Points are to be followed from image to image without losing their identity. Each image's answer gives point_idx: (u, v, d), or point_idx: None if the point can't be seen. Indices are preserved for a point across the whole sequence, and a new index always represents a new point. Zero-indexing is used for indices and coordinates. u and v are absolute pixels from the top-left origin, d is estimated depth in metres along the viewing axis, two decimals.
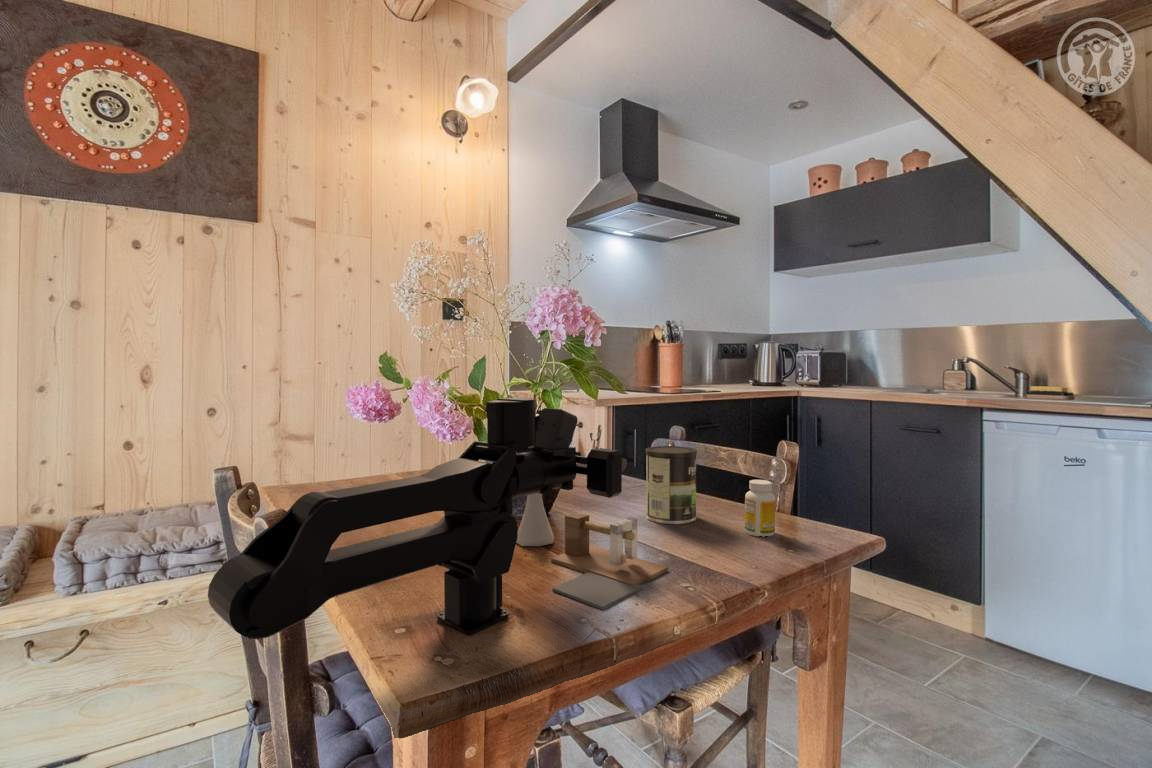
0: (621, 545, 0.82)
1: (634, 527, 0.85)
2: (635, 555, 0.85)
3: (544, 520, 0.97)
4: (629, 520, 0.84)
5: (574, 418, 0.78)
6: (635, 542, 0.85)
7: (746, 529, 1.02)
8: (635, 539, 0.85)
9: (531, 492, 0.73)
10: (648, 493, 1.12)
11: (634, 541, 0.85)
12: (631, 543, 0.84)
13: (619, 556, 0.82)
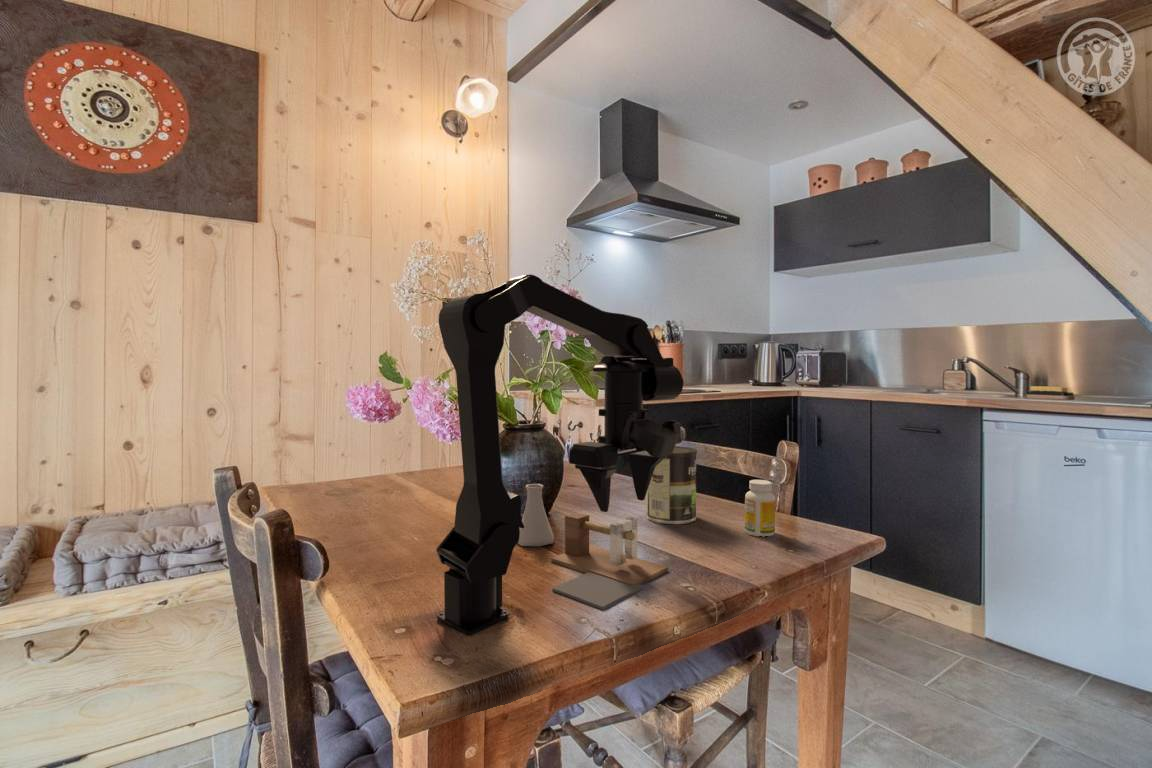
0: (621, 545, 0.82)
1: (634, 527, 0.85)
2: (635, 555, 0.85)
3: (544, 520, 0.97)
4: (629, 520, 0.84)
5: (654, 450, 0.77)
6: (635, 542, 0.85)
7: (746, 529, 1.02)
8: (635, 539, 0.85)
9: (621, 393, 0.80)
10: (648, 493, 1.12)
11: (634, 541, 0.85)
12: (631, 543, 0.84)
13: (619, 556, 0.82)
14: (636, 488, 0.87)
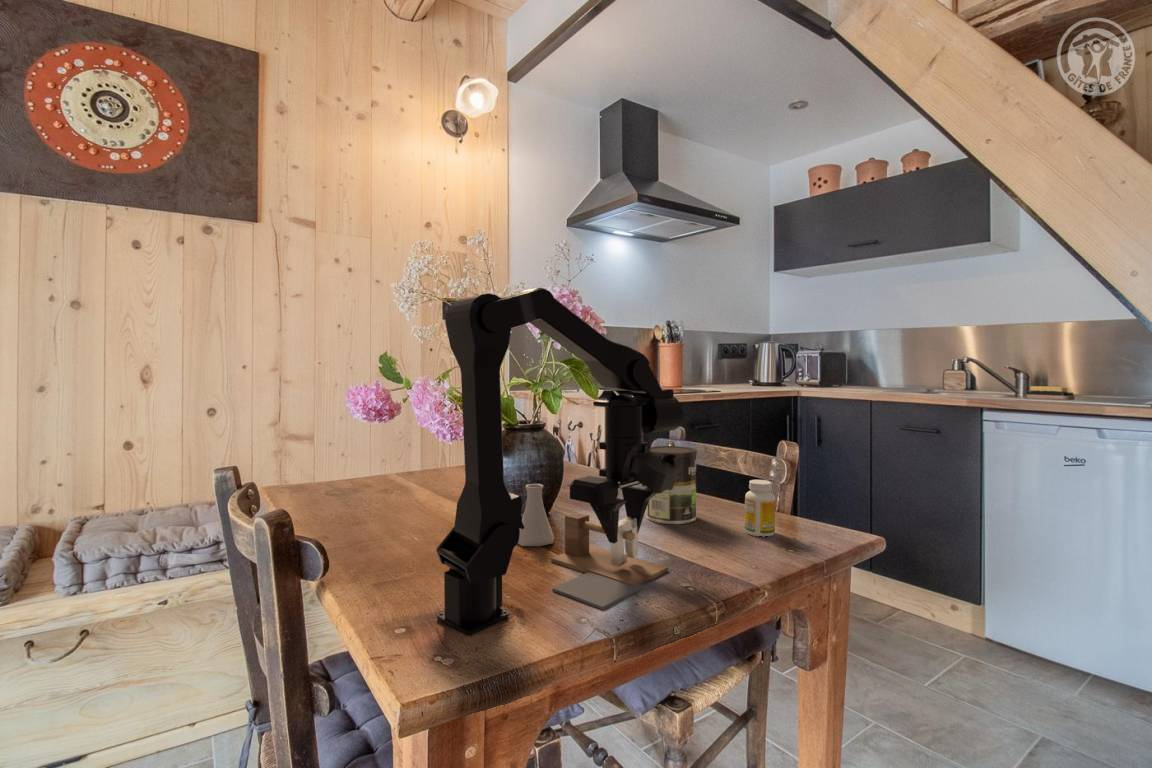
0: (621, 546, 0.82)
1: (634, 527, 0.85)
2: (636, 554, 0.85)
3: (544, 520, 0.97)
4: (628, 520, 0.84)
5: (654, 486, 0.77)
6: (635, 541, 0.85)
7: (746, 529, 1.02)
8: (635, 538, 0.85)
9: (621, 428, 0.81)
10: None
11: (634, 540, 0.85)
12: (632, 542, 0.85)
13: (620, 557, 0.82)
14: None
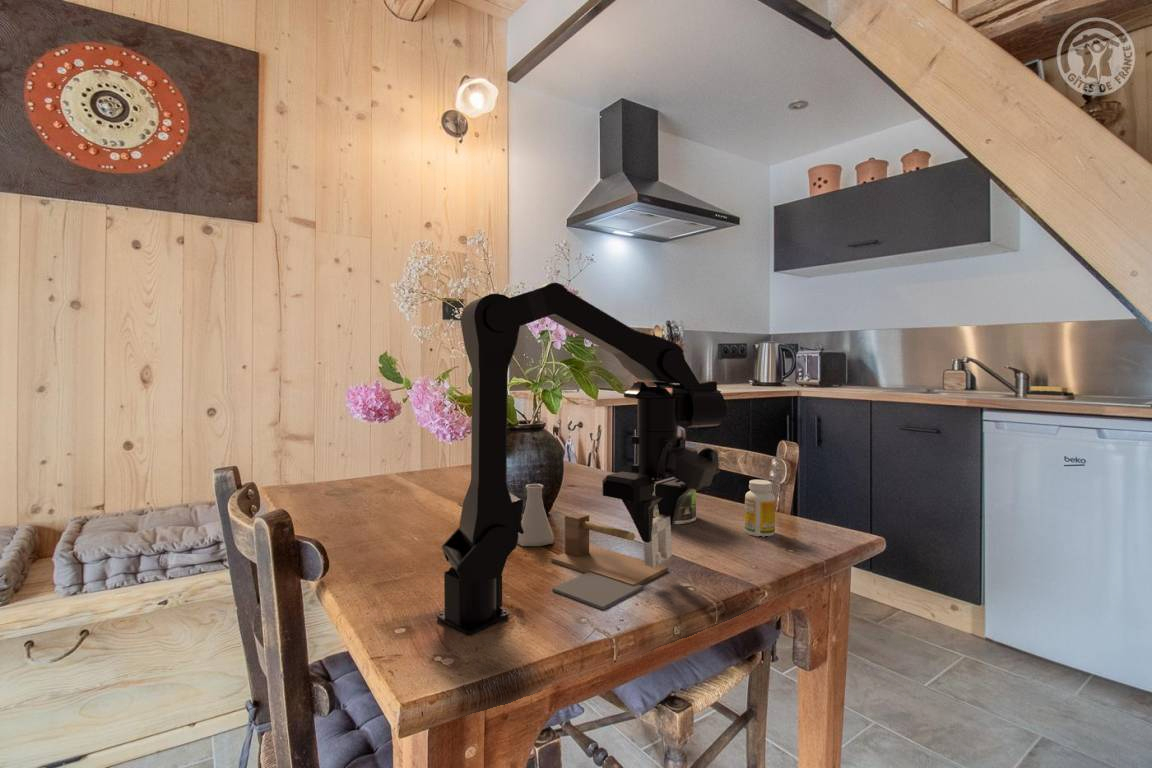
0: (655, 545, 0.78)
1: (668, 525, 0.81)
2: (670, 553, 0.81)
3: (544, 520, 0.97)
4: (662, 518, 0.80)
5: (692, 482, 0.73)
6: (669, 540, 0.81)
7: (746, 529, 1.02)
8: (669, 537, 0.81)
9: (652, 421, 0.77)
10: None
11: (668, 539, 0.81)
12: (665, 541, 0.81)
13: (654, 557, 0.78)
14: None
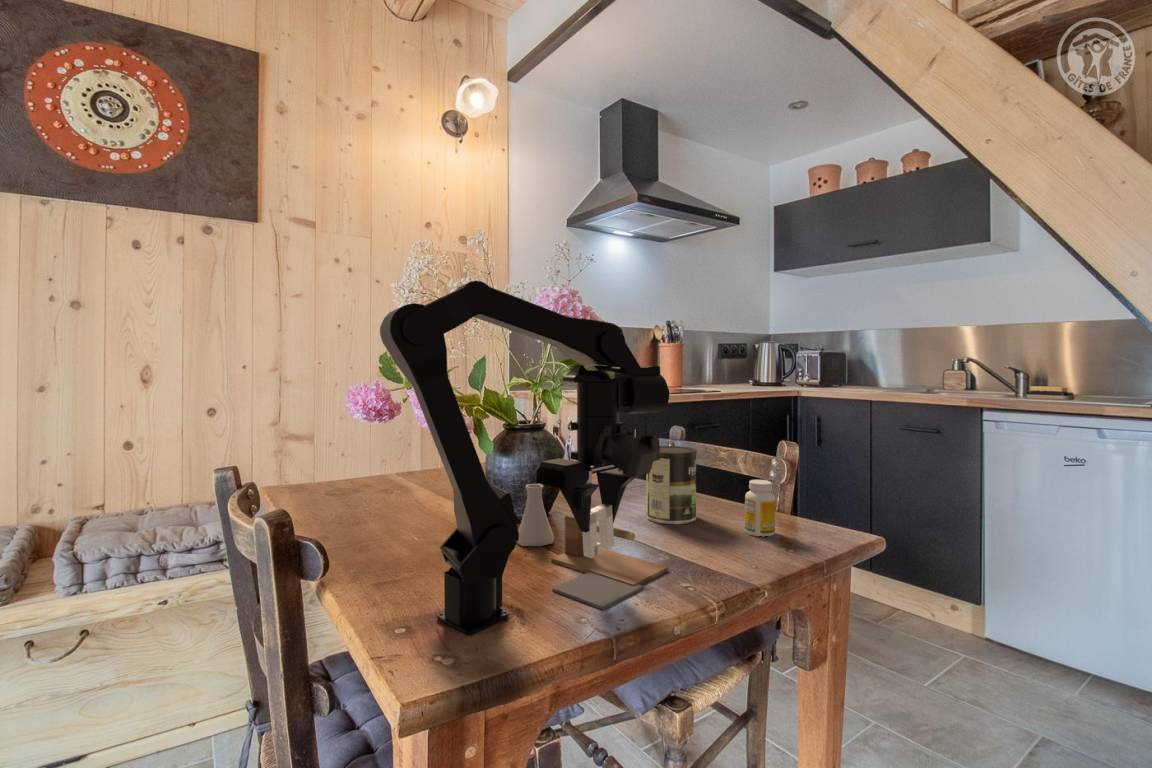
0: (594, 535, 0.75)
1: (609, 515, 0.78)
2: (611, 544, 0.78)
3: (544, 520, 0.97)
4: (603, 507, 0.77)
5: (629, 469, 0.70)
6: (611, 530, 0.78)
7: (746, 529, 1.02)
8: (610, 527, 0.78)
9: (591, 406, 0.74)
10: (648, 493, 1.12)
11: (609, 529, 0.78)
12: (606, 532, 0.77)
13: (593, 547, 0.75)
14: None
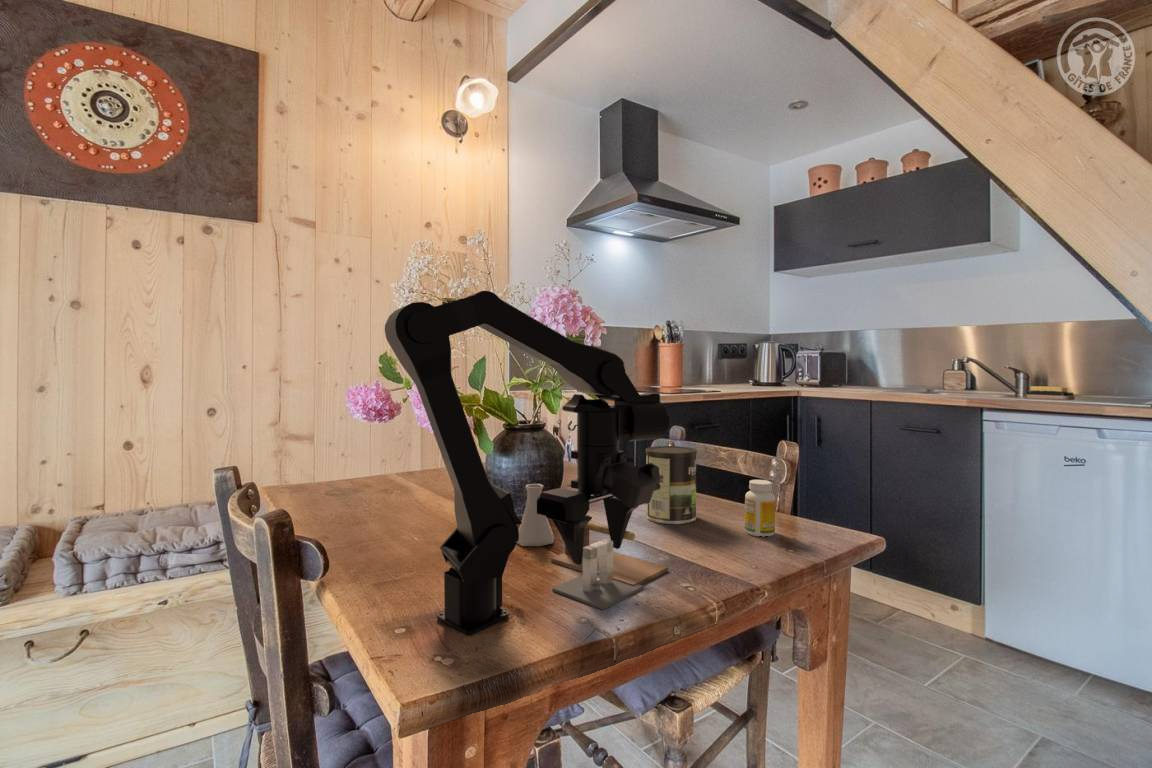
0: (595, 571, 0.75)
1: (610, 551, 0.78)
2: (611, 581, 0.78)
3: (544, 520, 0.97)
4: (604, 543, 0.77)
5: (629, 500, 0.70)
6: (611, 566, 0.78)
7: (746, 529, 1.02)
8: (611, 563, 0.78)
9: (591, 435, 0.74)
10: None
11: (609, 565, 0.78)
12: (606, 568, 0.77)
13: (592, 583, 0.75)
14: (611, 535, 0.80)
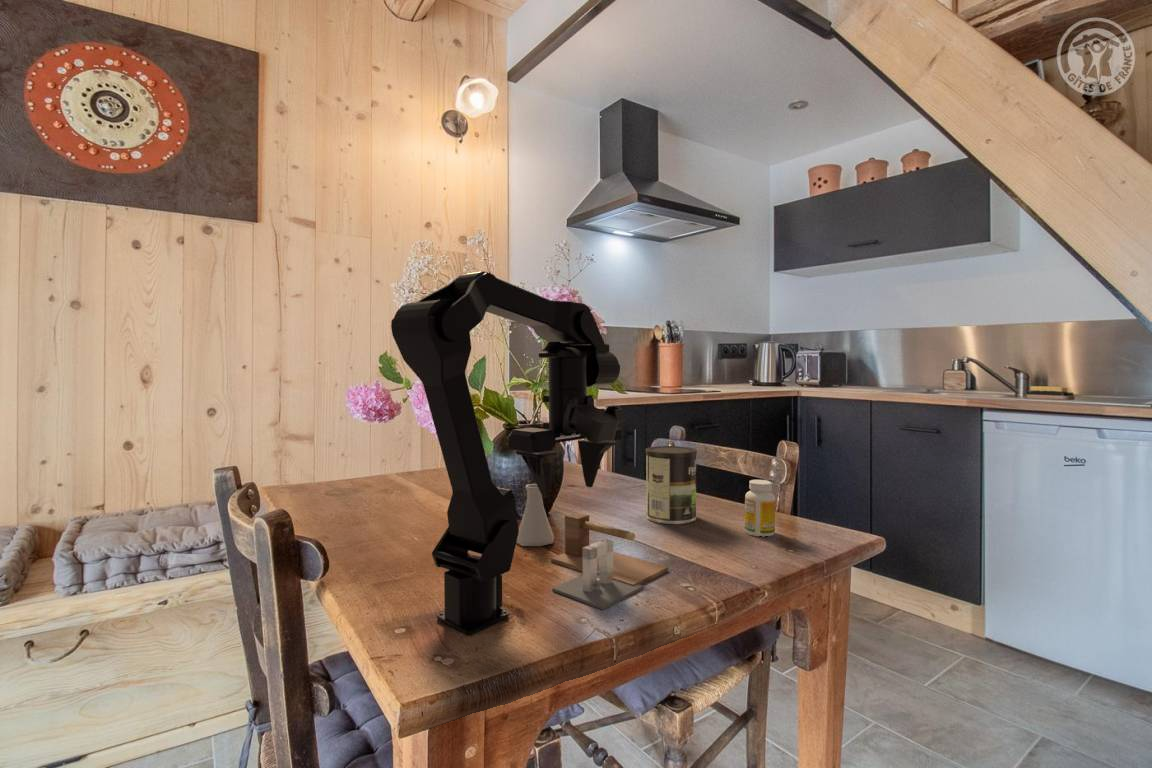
0: (595, 571, 0.75)
1: (610, 551, 0.78)
2: (611, 581, 0.78)
3: (544, 520, 0.97)
4: (604, 543, 0.77)
5: (591, 436, 0.76)
6: (611, 566, 0.78)
7: (746, 529, 1.02)
8: (611, 563, 0.78)
9: (568, 379, 0.80)
10: (648, 493, 1.12)
11: (609, 565, 0.78)
12: (606, 568, 0.77)
13: (592, 583, 0.75)
14: (585, 475, 0.87)
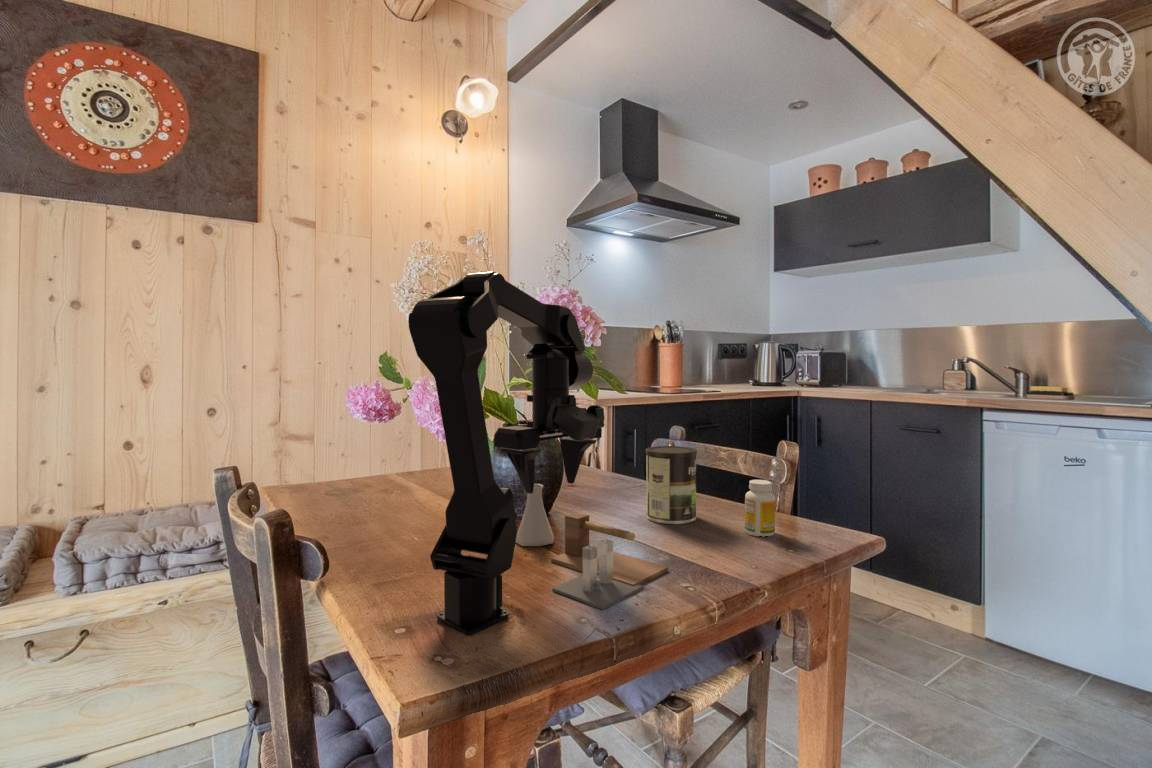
0: (595, 571, 0.75)
1: (610, 551, 0.78)
2: (611, 581, 0.78)
3: (544, 520, 0.97)
4: (604, 543, 0.77)
5: (574, 433, 0.80)
6: (611, 566, 0.78)
7: (746, 529, 1.02)
8: (611, 563, 0.78)
9: (554, 379, 0.84)
10: (648, 493, 1.12)
11: (609, 565, 0.78)
12: (606, 568, 0.77)
13: (592, 583, 0.75)
14: (566, 472, 0.91)
